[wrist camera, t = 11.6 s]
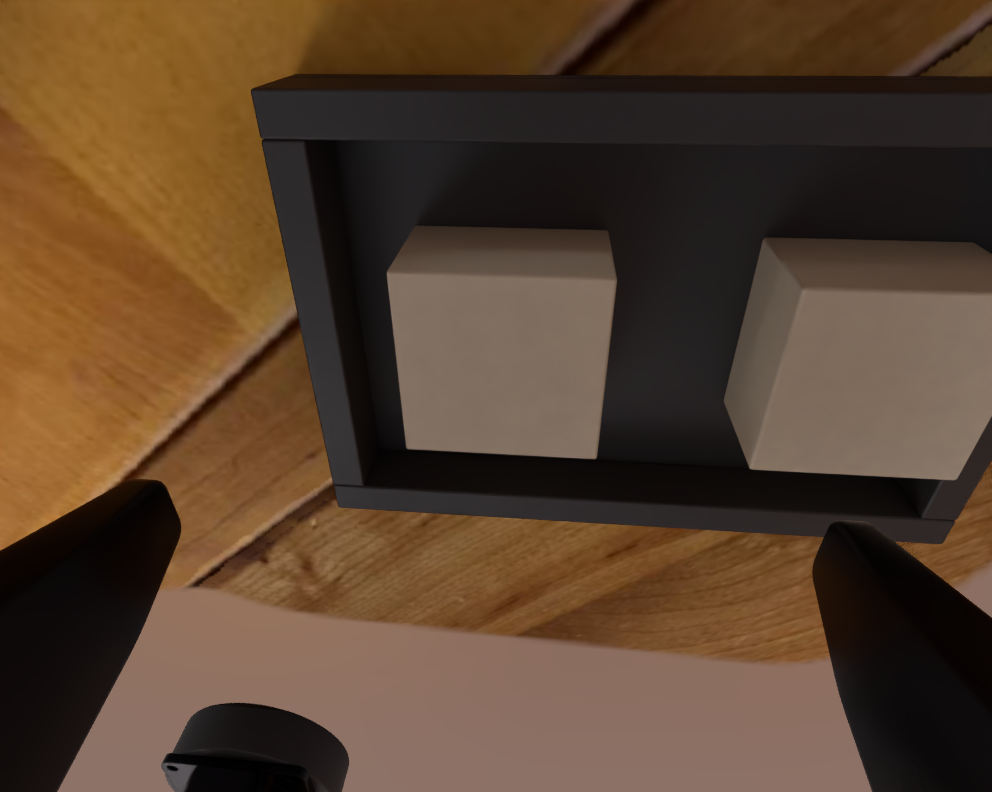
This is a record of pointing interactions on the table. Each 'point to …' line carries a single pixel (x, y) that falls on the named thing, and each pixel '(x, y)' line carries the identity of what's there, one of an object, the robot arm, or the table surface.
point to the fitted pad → (864, 357)
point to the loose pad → (503, 338)
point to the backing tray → (638, 265)
